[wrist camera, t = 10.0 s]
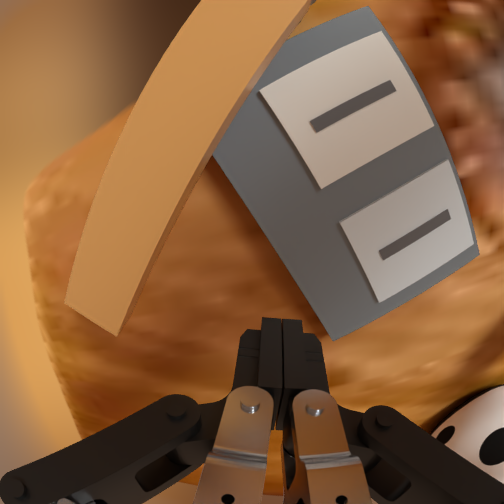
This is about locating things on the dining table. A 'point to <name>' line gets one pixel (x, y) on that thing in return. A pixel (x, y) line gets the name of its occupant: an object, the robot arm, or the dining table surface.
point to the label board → (349, 173)
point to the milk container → (477, 431)
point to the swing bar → (171, 147)
